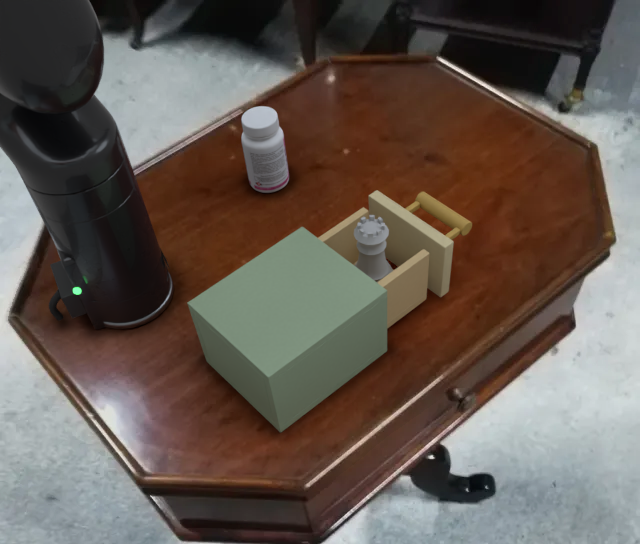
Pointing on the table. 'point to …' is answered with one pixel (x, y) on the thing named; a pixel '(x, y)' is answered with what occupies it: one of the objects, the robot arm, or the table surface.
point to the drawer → (405, 249)
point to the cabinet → (291, 326)
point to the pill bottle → (264, 149)
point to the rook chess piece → (372, 247)
